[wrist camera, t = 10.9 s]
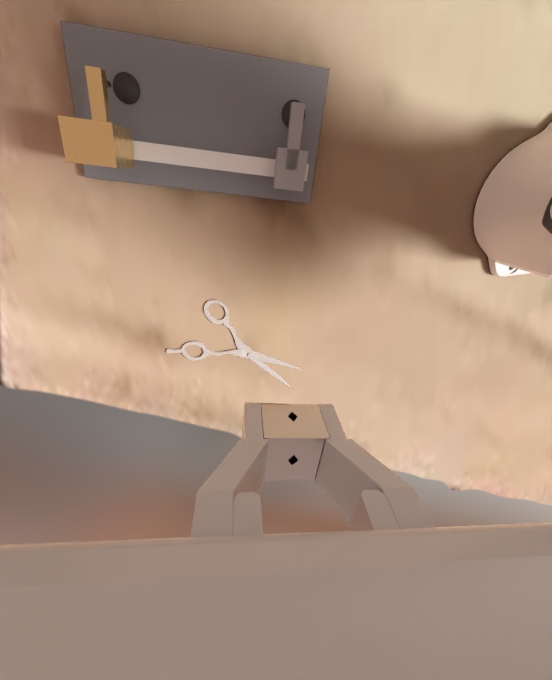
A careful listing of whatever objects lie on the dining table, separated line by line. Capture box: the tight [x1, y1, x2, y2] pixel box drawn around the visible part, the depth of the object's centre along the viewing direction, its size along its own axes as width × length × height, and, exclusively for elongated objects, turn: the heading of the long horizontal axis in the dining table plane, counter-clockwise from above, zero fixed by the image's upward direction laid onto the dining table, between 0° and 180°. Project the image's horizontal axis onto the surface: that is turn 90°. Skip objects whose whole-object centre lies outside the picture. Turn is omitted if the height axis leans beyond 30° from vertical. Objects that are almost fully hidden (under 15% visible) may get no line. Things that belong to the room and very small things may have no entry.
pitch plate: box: [60, 20, 329, 203], centre depth 30 cm, size 24×12×4 cm, turn 83°
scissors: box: [166, 300, 307, 388], centre depth 45 cm, size 11×1×20 cm
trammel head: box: [57, 65, 135, 169], centre depth 27 cm, size 4×7×6 cm, turn 173°
